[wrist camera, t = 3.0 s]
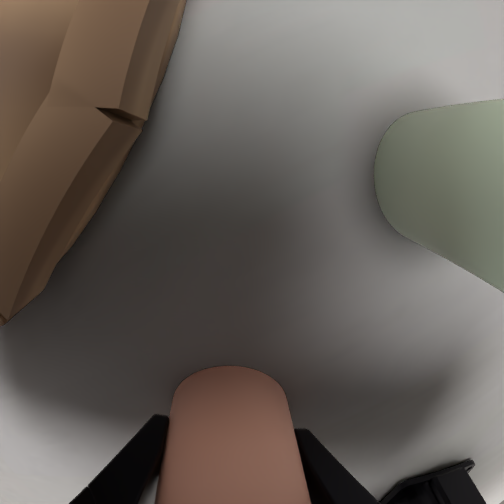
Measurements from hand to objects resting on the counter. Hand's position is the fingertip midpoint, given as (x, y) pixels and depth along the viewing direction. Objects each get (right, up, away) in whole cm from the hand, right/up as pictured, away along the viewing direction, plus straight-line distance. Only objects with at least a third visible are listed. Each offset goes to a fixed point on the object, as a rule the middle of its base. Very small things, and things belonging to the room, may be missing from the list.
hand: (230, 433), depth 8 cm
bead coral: (0, 0, +1) cm, 1 cm away
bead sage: (+5, +7, -1) cm, 9 cm away
